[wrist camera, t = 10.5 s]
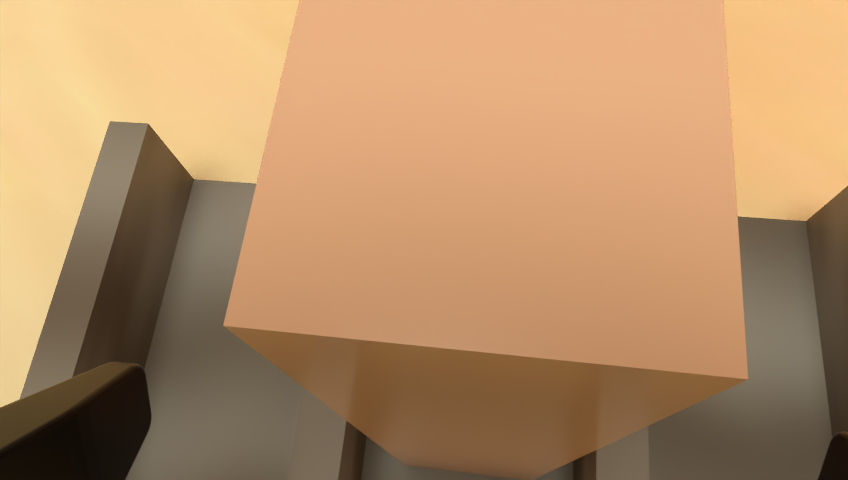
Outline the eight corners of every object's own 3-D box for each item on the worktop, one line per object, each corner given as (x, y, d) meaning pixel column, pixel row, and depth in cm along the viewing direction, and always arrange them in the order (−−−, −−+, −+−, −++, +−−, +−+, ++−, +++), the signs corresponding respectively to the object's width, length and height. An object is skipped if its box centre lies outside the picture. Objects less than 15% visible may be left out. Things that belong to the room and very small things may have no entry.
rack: (899, 652, 15) (1050, 701, 11) (63, 548, 17) (-58, 560, 13) (841, 242, 19) (940, 171, 15) (161, 194, 21) (91, 120, 17)
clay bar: (530, 480, 16) (749, 378, 4) (404, 465, 16) (221, 324, 4) (540, 298, 17) (711, -184, 5) (426, 287, 18) (344, -192, 6)
